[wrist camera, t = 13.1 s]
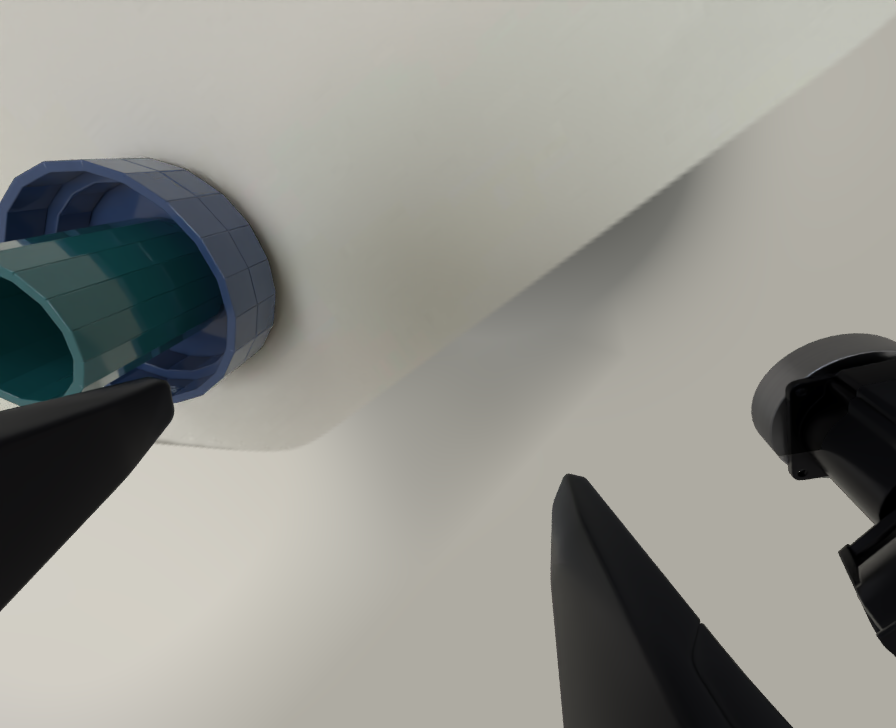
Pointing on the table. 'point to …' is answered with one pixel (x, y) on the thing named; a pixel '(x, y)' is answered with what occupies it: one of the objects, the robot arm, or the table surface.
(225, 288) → the bowl
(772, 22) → the table surface
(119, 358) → the cup
